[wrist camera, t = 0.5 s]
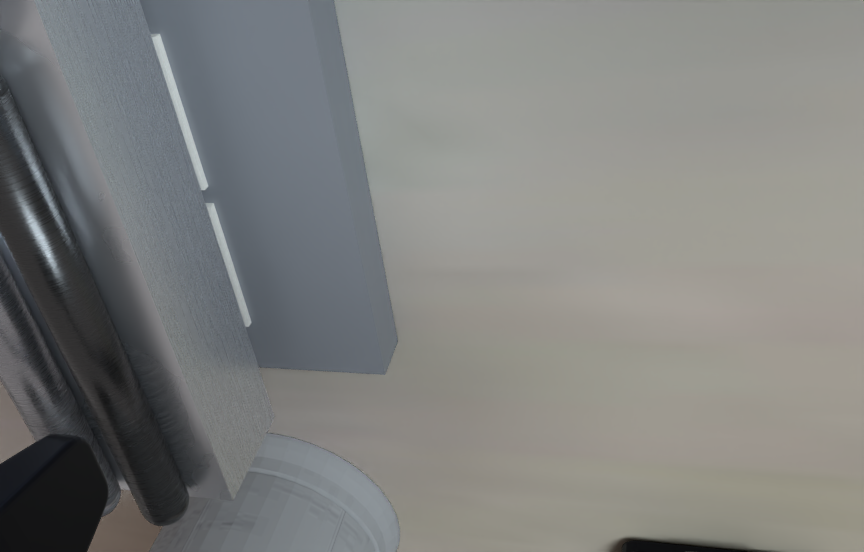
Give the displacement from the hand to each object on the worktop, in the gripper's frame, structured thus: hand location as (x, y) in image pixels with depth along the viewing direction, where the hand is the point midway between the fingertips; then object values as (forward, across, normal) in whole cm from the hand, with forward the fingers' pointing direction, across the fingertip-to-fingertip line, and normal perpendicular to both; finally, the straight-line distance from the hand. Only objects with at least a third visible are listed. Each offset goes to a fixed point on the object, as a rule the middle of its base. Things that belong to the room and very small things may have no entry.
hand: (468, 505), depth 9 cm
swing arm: (+11, +11, +2) cm, 15 cm away
